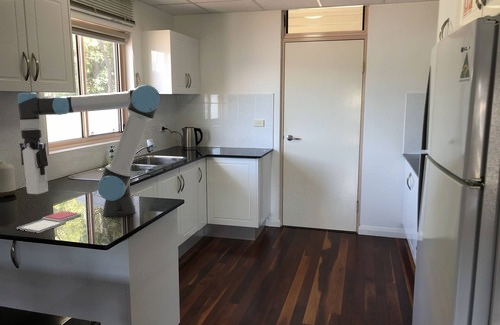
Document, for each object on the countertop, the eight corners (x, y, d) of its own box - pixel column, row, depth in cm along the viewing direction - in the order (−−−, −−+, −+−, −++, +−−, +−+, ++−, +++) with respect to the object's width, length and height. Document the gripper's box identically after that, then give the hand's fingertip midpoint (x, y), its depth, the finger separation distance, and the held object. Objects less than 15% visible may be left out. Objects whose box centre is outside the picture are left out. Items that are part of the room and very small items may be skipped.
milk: (27, 193, 178) (20, 143, 175) (38, 190, 184) (32, 141, 180) (38, 194, 176) (31, 143, 173) (48, 191, 182) (43, 141, 178)
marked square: (65, 223, 186) (65, 221, 186) (38, 233, 173) (38, 231, 173) (44, 220, 192) (44, 218, 192) (16, 229, 179) (16, 227, 179)
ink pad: (81, 215, 197) (80, 212, 197) (60, 223, 187) (59, 219, 186) (63, 213, 202) (63, 210, 202) (42, 220, 192) (41, 217, 191)
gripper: (54, 128, 175) (59, 181, 179) (23, 128, 183) (29, 178, 187) (38, 130, 168) (44, 185, 172) (7, 129, 176) (14, 182, 180)
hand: (36, 181), depth 179 cm, fingers closed on milk, 6 cm apart
